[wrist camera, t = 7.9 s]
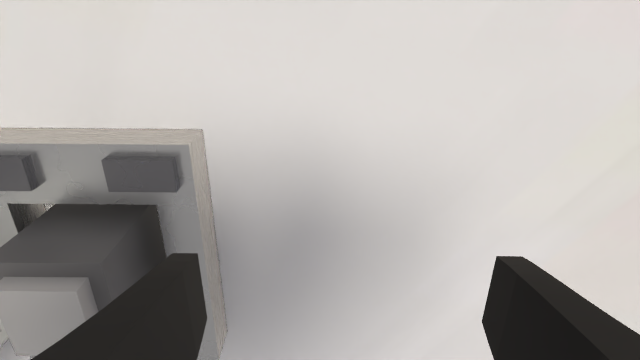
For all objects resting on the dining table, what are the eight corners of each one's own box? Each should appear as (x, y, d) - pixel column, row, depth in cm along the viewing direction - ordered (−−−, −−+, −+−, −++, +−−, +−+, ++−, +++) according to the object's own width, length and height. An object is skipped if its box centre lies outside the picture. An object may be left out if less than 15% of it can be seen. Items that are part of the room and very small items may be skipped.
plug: (169, 273, 22) (117, 368, 16) (86, 273, 22) (5, 367, 16) (155, 198, 20) (89, 277, 14) (63, 198, 20) (-37, 276, 14)
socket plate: (227, 331, 23) (216, 367, 21) (53, 329, 23) (24, 365, 21) (202, 129, 18) (184, 149, 16) (-20, 128, 18) (-69, 147, 16)
